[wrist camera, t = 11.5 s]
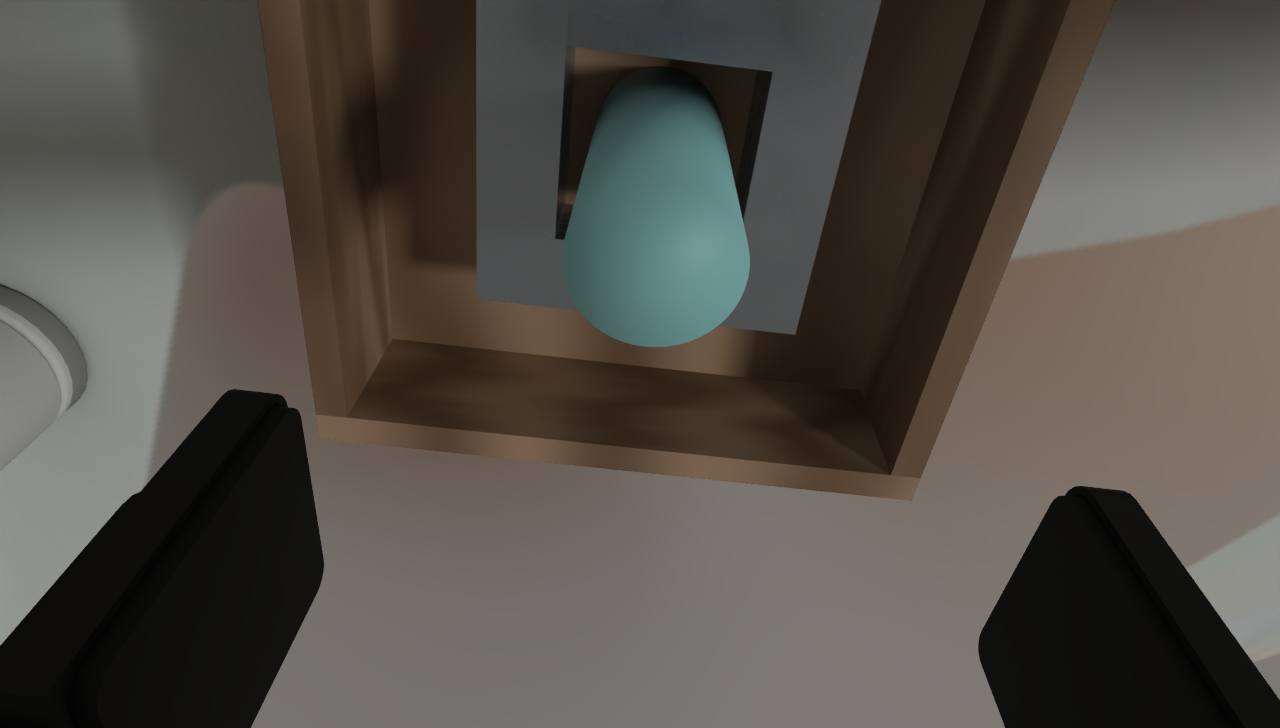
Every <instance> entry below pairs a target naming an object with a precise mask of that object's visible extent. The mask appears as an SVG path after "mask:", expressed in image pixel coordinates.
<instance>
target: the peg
mask: <svg viewBox="0 0 1280 728" xmlns="http://www.w3.org/2000/svg"><path fill="white" fill-rule="evenodd" d="M561 264H562V274H563V279H564V283H565V286H566V289H567V291H568V294H569V296H570V298H571V300H572V301H573V303H574V305H575V306H576V308H577V309H578V310H579V312H580V313H581V314H582V315H583V316H584V318H586V319H587V320H588V321H589V322H590V323H591V324H592V325H593V326H595V327H596V328H597V329H599V330H600V331H601V332H603V333H605V334H607V335H609V336H610V337H612V338H615V339H617V340H620V341H622V342H625V343H629V344H632V345H638V346H644V347H668V346H674V345H679V344H683V343H686V342H690V341H692V340H695V339H697V338H699V337H701V336H703V335H705V334H707V333H708V332H710V331H712V330H713V329H714V328H716V327H717V326H718V325H720V324H721V323H722V322H723V321H724V320H725V319H726V318H727V317H728V316H729V315H730V313H731V312H732V311H733V310H734V309H735V307H736V305H737V304H738V302H739V301H740V299H741V297H742V295H743V292H744V290H745V287H746V284H747V280H748V276H749V269H750V254H749V247H748V242H747V237H746V233H745V228H744V223H743V219H742V214H741V210H740V205H739V200H738V196H737V191H736V187H735V182H734V177H733V173H732V168H731V164H730V159H729V154H728V150H727V145H726V141H725V136H724V131H723V127H722V122H721V118H720V113H719V110H718V107H717V104H716V102H715V100H714V98H713V96H712V95H711V93H710V92H709V90H708V89H707V88H706V87H705V86H704V85H703V84H702V83H701V82H700V81H699V80H698V79H696V78H695V77H693V76H692V75H690V74H688V73H686V72H684V71H682V70H679V69H676V68H672V67H666V66H653V67H647V68H642V69H639V70H637V71H634V72H632V73H630V74H628V75H626V76H625V77H624V78H622V79H621V80H619V81H618V82H617V83H616V84H615V85H614V86H613V87H612V89H611V90H610V91H609V92H608V94H607V95H606V97H605V99H604V100H603V103H602V105H601V107H600V110H599V114H598V118H597V121H596V125H595V129H594V132H593V136H592V140H591V143H590V147H589V151H588V154H587V158H586V162H585V165H584V169H583V173H582V177H581V180H580V184H579V188H578V191H577V195H576V199H575V202H574V206H573V210H572V213H571V217H570V221H569V224H568V228H567V232H566V236H565V239H564V243H563V248H562V256H561Z"/></svg>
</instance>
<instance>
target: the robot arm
mask: <svg viewBox="0 0 1280 728" xmlns="http://www.w3.org/2000/svg"><path fill="white" fill-rule="evenodd" d="M323 568H324V560H323V553H322V546H321V540H320V535H319V528H318V522H317V515H316V509H315V502H314V496H313V490H312V484H311V477H310V471H309V465H308V458H307V452H306V446H305V439H304V433H303V427H302V421H301V416H300V413H299V411H298V410H297V409H295V408H288V406H287V403H286V401H285V399H284V397H283V396H281V395H279V394H271V393H263V392H254V391H244V390H236V389H233V390H229V391H227V392H226V393H225V394H224V395H222V397H221V398H220V399H219V400H218V401H217V402H216V404H215V405H214V406H213V407H212V408H211V410H210V411H209V412H208V413H207V414H206V416H205V417H204V418H203V419H202V420H201V421H200V423H199V424H198V425H197V426H196V427H195V428H194V430H193V431H192V432H191V433H190V434H189V435H188V437H187V438H186V439H185V440H184V441H183V442H182V444H181V445H180V446H179V447H178V448H177V449H176V451H175V452H174V453H173V454H172V455H171V457H170V458H169V459H168V460H167V461H166V462H165V464H164V465H163V466H162V467H161V468H160V469H159V471H158V472H157V473H156V474H155V475H154V477H153V478H152V479H151V480H150V481H149V482H148V484H147V485H146V486H145V487H144V488H143V489H142V491H141V492H139V493H137V494H134V495H132V496H131V497H130V498H129V499H128V500H127V501H126V502H125V503H124V504H122V505H121V506H120V508H119V509H118V510H117V511H116V512H115V513H114V515H113V516H112V517H111V518H110V519H109V520H108V522H107V523H106V524H105V525H104V526H103V527H102V529H101V530H100V531H99V532H98V533H97V534H96V535H95V537H94V538H93V539H92V540H91V541H90V542H89V544H88V545H87V546H86V547H85V548H84V549H83V551H82V552H81V553H80V554H79V555H78V556H77V558H76V559H75V560H74V561H73V562H72V563H71V564H70V566H69V567H68V568H67V569H66V570H65V571H64V573H63V574H62V575H61V576H60V577H59V578H58V580H57V581H56V582H55V583H54V584H53V585H52V587H51V588H50V589H49V590H48V591H47V592H46V593H45V595H44V596H43V597H42V598H41V599H40V600H39V602H38V603H37V604H36V605H35V606H34V607H33V609H32V610H31V611H30V612H29V613H28V614H27V615H26V617H25V618H24V619H23V620H22V621H21V622H20V624H19V625H18V626H17V627H16V628H15V629H14V631H13V632H12V633H11V634H10V635H9V636H8V638H7V639H6V640H5V641H4V642H3V643H2V644H1V646H0V728H251V726H252V724H253V722H254V720H255V718H256V716H257V714H258V712H259V710H260V708H261V706H262V703H263V702H264V699H265V697H266V695H267V693H268V691H269V689H270V687H271V685H272V683H273V681H274V679H275V677H276V675H277V673H278V671H279V669H280V667H281V665H282V663H283V661H284V659H285V657H286V655H287V653H288V651H289V649H290V647H291V644H292V642H293V641H294V639H295V637H296V635H297V632H298V630H299V628H300V626H301V624H302V622H303V620H304V618H305V616H306V614H307V612H308V610H309V608H310V606H311V604H312V602H313V600H314V598H315V596H316V594H317V592H318V589H319V587H320V584H321V580H322V575H323ZM978 647H979V649H978V650H979V657H980V661H981V664H982V667H983V670H984V672H985V675H986V678H987V680H988V683H989V686H990V688H991V690H992V694H993V696H994V699H995V702H996V704H997V707H998V709H999V712H1000V715H1001V717H1002V720H1003V723H1004V725H1005V728H1280V700H1279V699H1278V697H1277V696H1276V694H1275V693H1274V692H1273V690H1272V689H1271V687H1270V686H1269V685H1268V683H1267V682H1266V680H1265V679H1264V678H1263V676H1262V675H1261V673H1260V672H1259V671H1258V669H1257V668H1256V666H1255V665H1254V664H1253V662H1252V661H1251V659H1250V658H1249V657H1248V655H1247V654H1246V652H1245V651H1244V650H1243V648H1242V647H1241V646H1240V644H1239V643H1238V641H1237V640H1236V639H1235V637H1234V636H1233V634H1232V633H1231V632H1230V630H1229V629H1228V627H1227V626H1226V625H1225V623H1224V622H1223V620H1222V619H1221V618H1220V616H1219V615H1218V613H1217V612H1216V611H1215V609H1214V608H1213V606H1212V605H1211V604H1210V602H1209V601H1208V599H1207V598H1206V597H1205V595H1204V594H1203V592H1202V591H1201V590H1200V588H1199V587H1198V586H1197V584H1196V583H1195V581H1194V580H1193V579H1192V577H1191V576H1190V574H1189V573H1188V572H1187V570H1186V569H1185V567H1184V566H1183V565H1182V563H1181V562H1180V560H1179V559H1178V558H1177V556H1176V555H1175V553H1174V552H1173V551H1172V549H1171V548H1170V547H1169V545H1168V544H1167V542H1166V541H1165V539H1164V538H1163V537H1162V536H1161V534H1160V532H1159V531H1158V530H1157V529H1156V527H1155V526H1154V524H1153V523H1152V521H1151V520H1150V519H1149V517H1148V516H1147V514H1146V513H1145V512H1144V510H1143V509H1142V507H1141V506H1140V505H1139V503H1138V502H1137V500H1136V499H1135V498H1134V497H1133V496H1132V495H1131V494H1129V493H1127V492H1125V491H1120V490H1111V489H1101V488H1093V487H1084V486H1076V487H1073V488H1072V489H1070V490H1069V491H1068V492H1067V494H1066V495H1065V496H1058V497H1057V498H1055V499H1054V500H1053V502H1052V503H1051V505H1050V507H1049V509H1048V510H1047V512H1046V514H1045V516H1044V518H1043V519H1042V521H1041V523H1040V525H1039V527H1038V529H1037V531H1036V532H1035V535H1034V536H1033V538H1032V540H1031V541H1030V543H1029V545H1028V547H1027V549H1026V551H1025V552H1024V554H1023V556H1022V558H1021V560H1020V562H1019V564H1018V565H1017V568H1016V569H1015V571H1014V573H1013V575H1012V576H1011V578H1010V580H1009V582H1008V584H1007V585H1006V587H1005V589H1004V591H1003V593H1002V595H1001V596H1000V598H999V600H998V602H997V604H996V606H995V607H994V609H993V611H992V613H991V615H990V617H989V618H988V620H987V622H986V624H985V626H984V628H983V629H982V631H981V634H980V637H979V646H978Z"/></svg>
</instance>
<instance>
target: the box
mask: <svg viewBox="0 0 1280 728" xmlns="http://www.w3.org/2000/svg"><path fill="white" fill-rule="evenodd" d="M257 1H258V8H259V15H260V22H261V29H262V36H263V43H264V50H265V57H266V64H267V72H268V79H269V86H270V93H271V100H272V107H273V114H274V121H275V128H276V135H277V142H278V149H279V156H280V163H281V171H282V178H283V185H284V192H285V198H286V206H287V213H288V220H289V227H290V234H291V241H292V248H293V255H294V262H295V269H296V277H297V284H298V291H299V298H300V305H301V312H302V319H303V326H304V332H305V340H306V347H307V354H308V361H309V369H310V376H311V382H312V389H313V397H314V403H315V411H316V418H317V425H318V432H319V438H320V439H328V440H338V441H348V442H357V443H366V444H376V445H385V446H395V447H405V448H414V449H424V450H434V451H443V452H452V453H462V454H471V455H482V456H491V457H501V458H509V459H519V460H529V461H539V462H548V463H557V464H567V465H576V466H586V467H595V468H605V469H615V470H624V471H634V472H643V473H653V474H663V475H672V476H681V477H691V478H701V479H711V480H720V481H729V482H739V483H749V484H758V485H768V486H778V487H787V488H796V489H806V490H816V491H825V492H834V493H845V494H854V495H864V496H873V497H883V498H892V499H902V500H912V498H913V495H914V493H915V490H916V488H917V485H918V483H919V480H920V478H921V476H922V473H923V471H924V468H925V466H926V463H927V461H928V458H929V456H930V454H931V451H932V449H933V446H934V444H935V441H936V439H937V436H938V434H939V431H940V429H941V426H942V424H943V422H944V419H945V416H946V414H947V412H948V409H949V407H950V404H951V402H952V399H953V397H954V394H955V392H956V390H957V387H958V385H959V382H960V380H961V377H962V375H963V372H964V370H965V367H966V365H967V363H968V360H969V358H970V355H971V353H972V350H973V348H974V345H975V343H976V340H977V338H978V336H979V333H980V330H981V328H982V326H983V323H984V321H985V318H986V316H987V313H988V311H989V308H990V306H991V303H992V301H993V299H994V296H995V294H996V291H997V288H998V286H999V284H1000V281H1001V279H1002V276H1003V274H1004V271H1005V269H1006V267H1007V264H1008V262H1009V259H1010V257H1011V254H1012V252H1013V249H1014V247H1015V245H1016V242H1017V240H1018V237H1019V235H1020V232H1021V230H1022V227H1023V225H1024V222H1025V220H1026V217H1027V215H1028V213H1029V210H1030V208H1031V205H1032V203H1033V200H1034V198H1035V195H1036V193H1037V190H1038V188H1039V186H1040V183H1041V181H1042V178H1043V176H1044V173H1045V171H1046V168H1047V166H1048V163H1049V161H1050V158H1051V156H1052V154H1053V151H1054V149H1055V146H1056V144H1057V141H1058V139H1059V136H1060V134H1061V131H1062V129H1063V127H1064V124H1065V122H1066V119H1067V117H1068V114H1069V112H1070V109H1071V107H1072V104H1073V102H1074V99H1075V97H1076V95H1077V92H1078V90H1079V87H1080V85H1081V82H1082V80H1083V77H1084V75H1085V72H1086V70H1087V67H1088V65H1089V63H1090V60H1091V58H1092V55H1093V53H1094V50H1095V48H1096V45H1097V43H1098V40H1099V38H1100V36H1101V33H1102V31H1103V28H1104V26H1105V23H1106V21H1107V18H1108V16H1109V13H1110V11H1111V8H1112V6H1113V4H1114V1H1115V0H881V4H880V8H879V12H878V15H877V19H876V23H875V27H874V31H873V35H872V39H871V43H870V47H869V50H868V54H867V58H866V62H865V66H864V70H863V74H862V78H861V81H860V85H859V89H858V93H857V97H856V101H855V105H854V109H853V113H852V116H851V120H850V124H849V128H848V132H847V136H846V140H845V144H844V148H843V151H842V155H841V159H840V163H839V167H838V171H837V175H836V179H835V182H834V186H833V190H832V194H831V198H830V202H829V206H828V210H827V214H826V217H825V221H824V225H823V229H822V233H821V237H820V241H819V245H818V248H817V252H816V256H815V260H814V264H813V268H812V272H811V276H810V280H809V283H808V287H807V291H806V295H805V299H804V303H803V307H802V311H801V315H800V318H799V322H798V326H797V330H796V334H795V335H793V334H784V333H775V332H766V331H757V330H748V329H739V328H730V327H721V326H717V327H716V328H714V329H713V330H712V331H710V332H708V333H707V334H705V335H703V336H701V337H699V338H697V339H695V340H692V341H690V342H686V343H683V344H679V345H674V346H668V347H644V346H638V345H632V344H629V343H625V342H622V341H620V340H617V339H615V338H612V337H610V336H609V335H607V334H605V333H603V332H601V331H600V330H599V329H597V328H596V327H595V326H593V325H592V324H591V323H590V322H589V321H588V320H587V319H586V318H584V316H583V315H582V314H581V313H580V312H579V310H570V309H561V308H552V307H543V306H534V305H525V304H516V303H508V302H499V301H490V300H481V299H477V181H476V0H257ZM653 66H666V67H672V68H676V69H679V70H682V71H684V72H686V73H688V74H690V75H692V76H693V77H695V78H696V79H698V80H699V81H700V82H701V83H702V84H703V85H704V86H705V87H706V88H707V89H708V90H709V92H710V93H711V95H712V96H713V98H714V100H715V102H716V104H717V107H718V110H719V113H720V118H721V122H722V127H723V131H724V136H725V141H726V145H727V150H728V154H729V159H730V164H731V168H732V173H733V177H734V182H735V187H736V183H737V177H738V172H739V167H740V161H741V156H742V151H743V145H744V140H745V134H746V129H747V124H748V118H749V113H750V108H751V102H752V97H753V92H754V86H755V81H756V75H757V70H755V69H747V68H739V67H731V66H723V65H715V64H707V63H699V62H691V61H683V60H675V59H667V58H659V57H651V56H643V55H635V54H627V53H619V52H611V51H603V50H595V49H587V48H579V47H576V49H575V64H574V80H573V95H572V111H571V127H570V142H569V158H568V174H567V189H566V203H569V204H574V202H575V199H576V195H577V191H578V188H579V184H580V180H581V177H582V173H583V169H584V165H585V162H586V158H587V154H588V151H589V147H590V143H591V140H592V136H593V132H594V129H595V125H596V121H597V118H598V114H599V110H600V107H601V105H602V103H603V100H604V99H605V97H606V95H607V94H608V92H609V91H610V90H611V89H612V87H613V86H614V85H615V84H616V83H617V82H618V81H619V80H621V79H622V78H624V77H625V76H626V75H628V74H630V73H632V72H634V71H637V70H639V69H642V68H647V67H653Z"/></svg>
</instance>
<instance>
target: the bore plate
mask: <svg viewBox="0 0 1280 728" xmlns="http://www.w3.org/2000/svg"><path fill="white" fill-rule="evenodd" d="M880 4H881V0H476V181H477V299H481V300H490V301H499V302H508V303H516V304H525V305H534V306H543V307H552V308H561V309H570V310H578V309H577V308H576V306H575V305H574V303H573V301H572V300H571V298H570V296H569V294H568V291H567V289H566V286H565V283H564V279H563V274H562V264H561V256H562V248H563V243H564V239H565V236H566V232H567V228H568V224H569V221H570V217H571V213H572V210H573V206H574V204H569V203H566V189H567V174H568V158H569V142H570V127H571V111H572V95H573V80H574V64H575V49H576V47H579V48H587V49H595V50H603V51H611V52H619V53H627V54H635V55H643V56H651V57H659V58H667V59H675V60H683V61H691V62H699V63H707V64H715V65H723V66H731V67H739V68H747V69H755V70H757V75H756V81H755V86H754V92H753V97H752V102H751V108H750V113H749V118H748V124H747V129H746V134H745V140H744V145H743V151H742V156H741V161H740V167H739V172H738V177H737V183H736V191H737V196H738V200H739V205H740V210H741V214H742V219H743V223H744V228H745V233H746V237H747V242H748V247H749V254H750V269H749V276H748V280H747V284H746V287H745V290H744V292H743V295H742V297H741V299H740V301H739V302H738V304H737V305H736V307H735V309H734V310H733V311H732V312H731V313H730V315H729V316H728V317H727V318H726V319H725V320H724V321H723V322H722V323H721V324H720V325H718V326H721V327H730V328H739V329H748V330H757V331H766V332H775V333H784V334H793V335H795V334H796V330H797V326H798V322H799V318H800V315H801V311H802V307H803V303H804V299H805V295H806V291H807V287H808V283H809V280H810V276H811V272H812V268H813V264H814V260H815V256H816V252H817V248H818V245H819V241H820V237H821V233H822V229H823V225H824V221H825V217H826V214H827V210H828V206H829V202H830V198H831V194H832V190H833V186H834V182H835V179H836V175H837V171H838V167H839V163H840V159H841V155H842V151H843V148H844V144H845V140H846V136H847V132H848V128H849V124H850V120H851V116H852V113H853V109H854V105H855V101H856V97H857V93H858V89H859V85H860V81H861V78H862V74H863V70H864V66H865V62H866V58H867V54H868V50H869V47H870V43H871V39H872V35H873V31H874V27H875V23H876V19H877V15H878V12H879V8H880Z"/></svg>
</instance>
